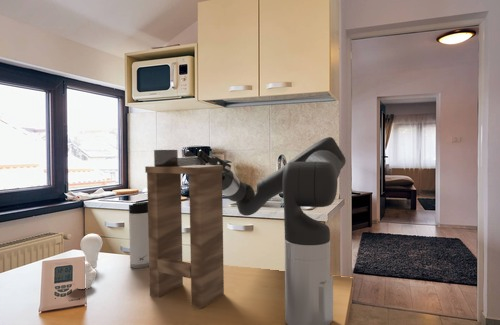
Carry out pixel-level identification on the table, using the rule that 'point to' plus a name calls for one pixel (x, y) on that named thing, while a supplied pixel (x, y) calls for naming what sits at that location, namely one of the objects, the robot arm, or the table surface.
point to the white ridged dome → (89, 274)
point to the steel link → (173, 159)
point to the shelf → (201, 231)
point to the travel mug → (139, 235)
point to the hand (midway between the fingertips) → (193, 153)
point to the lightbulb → (91, 248)
